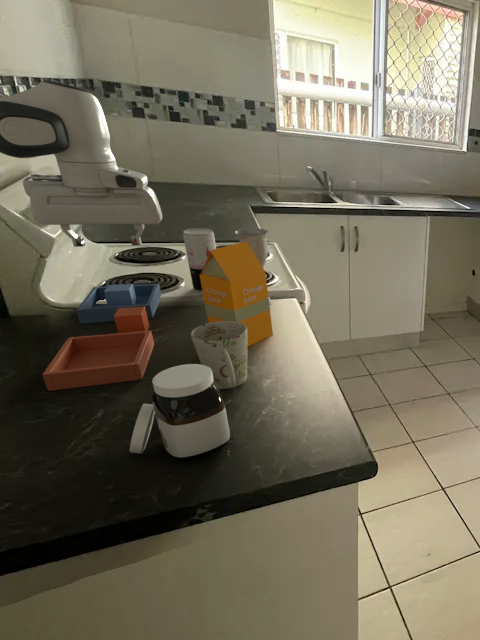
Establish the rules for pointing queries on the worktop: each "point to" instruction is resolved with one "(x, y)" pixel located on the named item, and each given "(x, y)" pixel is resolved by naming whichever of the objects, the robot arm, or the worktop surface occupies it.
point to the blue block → (120, 295)
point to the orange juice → (237, 290)
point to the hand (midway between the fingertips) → (109, 245)
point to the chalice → (255, 243)
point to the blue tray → (102, 313)
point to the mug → (223, 351)
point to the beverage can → (198, 251)
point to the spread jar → (184, 413)
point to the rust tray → (100, 360)
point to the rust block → (131, 319)
